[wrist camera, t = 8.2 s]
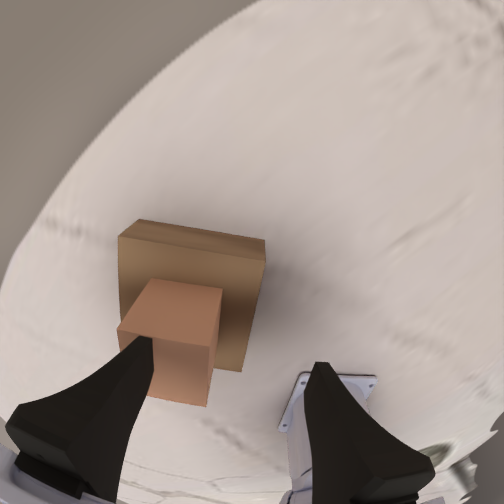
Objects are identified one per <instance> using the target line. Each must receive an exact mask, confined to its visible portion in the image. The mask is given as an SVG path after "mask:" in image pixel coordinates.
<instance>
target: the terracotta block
mask: <svg viewBox="0 0 504 504" xmlns="http://www.w3.org/2000/svg"><path fill="white" fill-rule="evenodd" d="M222 291H223V288H215V287H208V286H201V285H194V284H187V283H181V282H174V281H168V280H161V279H155V278H151V279H150V281H149V282H148V284H147V285H146V286H145V288H144V289H143V291H142V292H141V294H140V295H139V297H138V298H137V299H136V301H135V302H134V304H133V305H132V307H131V308H130V310H129V311H128V313H127V314H126V316H125V317H124V319H123V320H122V322H121V323H120V325H119V326H118V328H117V335H118V341H119V348H120V352H121V351H122V350H123V349H124V348H126V347H127V346H128V345H129V344H130V343H131V342H132V341H133V340H134V339H135V338H137V337H138V336H139V335H140V336H145V337H149V338H152V340H153V359H154V373H153V377H152V380H151V384H150V387H149V390H148V393H147V395H146V396H150V397H155V398H159V399H164V400H169V401H174V402H179V403H185V404H191V405H197V406H203V407H206V405H207V399H208V394H209V388H210V383H211V377H212V372H213V367H214V361H215V356H216V350H217V345H218V333H219V322H220V312H221V301H222Z"/></svg>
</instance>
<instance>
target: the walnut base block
mask: <svg viewBox="0 0 504 504" xmlns="http://www.w3.org/2000/svg"><path fill="white" fill-rule="evenodd" d="M265 262H266V258H265V241H264V240H262V239H256V238H250V237H244V236H238V235H232V234H227V233H221V232H215V231H209V230H203V229H197V228H191V227H185V226H179V225H173V224H166V223H160V222H154V221H148V220H142V219H139V220H137V221H136V222H135V223H133V224H132V225H131V226H130V227H128V228H127V229H126V230H125V231H123V232H122V233H121V234H120V235H119V236H118V279H119V301H120V316H121V322H122V320H123V319H124V317H125V316H126V314H127V313H128V311H129V310H130V308H131V307H132V305H133V304H134V302H135V301H136V299H137V298H138V297H139V295H140V294H141V292H142V291H143V289H144V288H145V286H146V285H147V284H148V282H149V281H150V279H151V278H155V279H161V280H168V281H174V282H181V283H187V284H194V285H201V286H208V287H215V288H223V291H222V301H221V312H220V322H219V333H218V345H217V350H216V356H215V361H214V367H213V368H217V369H223V370H229V371H236V372H241V371H242V367H243V363H244V358H245V354H246V349H247V345H248V340H249V336H250V331H251V327H252V322H253V318H254V313H255V309H256V304H257V300H258V295H259V290H260V286H261V281H262V276H263V272H264V267H265Z"/></svg>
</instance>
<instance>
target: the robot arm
mask: <svg viewBox="0 0 504 504" xmlns="http://www.w3.org/2000/svg"><path fill="white" fill-rule="evenodd" d="M153 373H154V359H153V340H152V338H149V337H145V336H140V335H139V336H138V337H137V338H135V339H134V340H133V341H132V342H131V343H130V344H129V345H128V346H127V347H126V348H124V349H123V350H122V351H121V352H120V353H119V354H118V355H116V356H115V357H114V358H113V359H112V360H110V361H109V362H108V363H107V364H105V365H104V366H103V367H101V368H100V369H99V370H97V371H96V372H94V373H93V374H92V375H90V376H89V377H87V378H85V379H84V380H82V381H80V382H79V383H77V384H75V385H73V386H71V387H69V388H67V389H65V390H63V391H61V392H59V393H56V394H53V395H51V396H48V397H45V398H42V399H39V400H36V401H32V402H28V403H24V404H19V405H18V407H17V408H16V409H15V411H14V412H13V414H12V415H11V417H10V419H9V420H8V422H7V423H6V426H5V428H6V431H7V433H8V435H9V436H10V438H11V439H12V440H13V442H14V443H15V444H16V445H17V447H18V448H19V449H20V453H19V455H17V454H15V453H14V452H13V451H12V450H10V449H8V448H7V447H6V446H4V445H2V444H1V443H0V502H2V503H3V504H116V499H117V492H118V486H119V480H120V475H121V470H122V465H123V461H124V457H125V453H126V449H127V445H128V441H129V437H130V434H131V431H132V428H133V426H134V423H135V421H136V419H137V416H138V414H139V411H140V409H141V407H142V404H143V402H144V400H145V397H146V395H147V393H148V390H149V387H150V384H151V380H152V377H153ZM303 381H305V382H303ZM377 382H378V379H377V377H375V376H345V375H337V374H336V372H335V371H334V370H333V368H332V367H331V365H330V364H329V363H328V362H315V364H314V367H313V369H312V372H311V373H303V374H301V375H300V376H299V378H298V381H297V384H296V386H295V389H294V391H293V393H292V396H291V398H290V401H289V403H288V405H287V408H286V410H285V413H284V415H283V417H282V419H281V422H280V424H279V426H278V431H279V432H284V433H287V443H288V457H289V472H290V477H291V479H292V490H289V491H287V492H286V493H285V494H284V495H283V497H282V500H281V501H280V503H279V504H416V500H418V499H419V496H418V491H419V490H421V489H422V488H423V487H425V486H426V485H427V484H428V483H429V482H430V481H432V480H433V478H434V477H435V470H434V467H433V465H432V462H431V460H430V458H429V457H428V456H426V455H424V454H422V453H420V452H418V451H416V450H414V449H412V448H410V447H409V446H407V445H406V444H404V443H403V442H401V441H400V440H398V439H397V438H395V437H394V436H393V435H391V434H390V433H389V432H388V431H386V430H385V429H384V428H383V427H381V426H380V425H379V424H378V423H377V422H376V421H375V420H374V419H373V418H372V417H371V416H370V413H369V410H368V406H367V403H366V400H367V398H368V397H369V395H370V394H371V392H372V390H373V389H374V387H375V385H376V384H377ZM370 384H371V385H370ZM421 504H445V501H444V498H443V497H439V498H436V499H433V500H430V501H426V502H424V503H421Z"/></svg>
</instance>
